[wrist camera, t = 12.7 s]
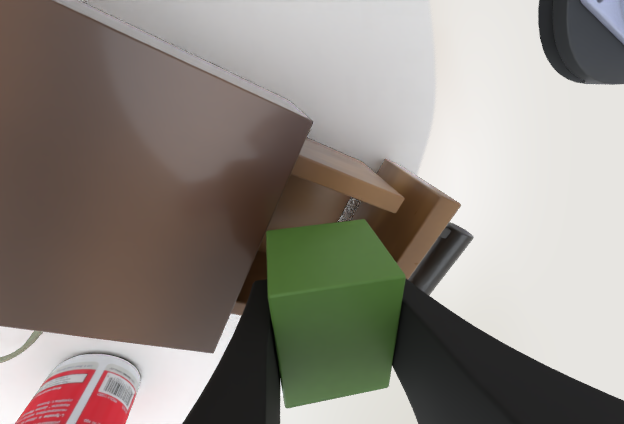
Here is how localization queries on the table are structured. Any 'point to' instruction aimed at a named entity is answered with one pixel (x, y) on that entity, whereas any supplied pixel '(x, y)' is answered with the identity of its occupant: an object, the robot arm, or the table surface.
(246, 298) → the drawer
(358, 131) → the table surface
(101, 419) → the pill bottle
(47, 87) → the cabinet
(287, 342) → the matte green cuboid
